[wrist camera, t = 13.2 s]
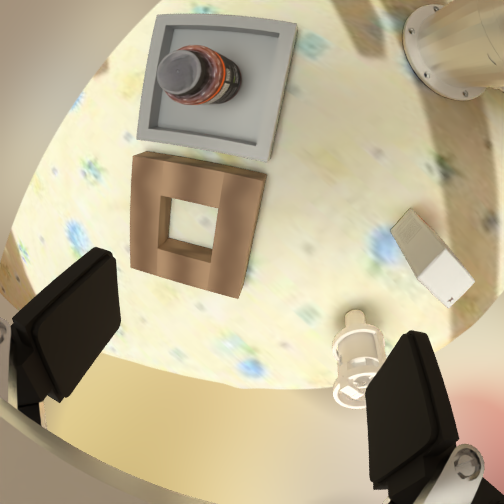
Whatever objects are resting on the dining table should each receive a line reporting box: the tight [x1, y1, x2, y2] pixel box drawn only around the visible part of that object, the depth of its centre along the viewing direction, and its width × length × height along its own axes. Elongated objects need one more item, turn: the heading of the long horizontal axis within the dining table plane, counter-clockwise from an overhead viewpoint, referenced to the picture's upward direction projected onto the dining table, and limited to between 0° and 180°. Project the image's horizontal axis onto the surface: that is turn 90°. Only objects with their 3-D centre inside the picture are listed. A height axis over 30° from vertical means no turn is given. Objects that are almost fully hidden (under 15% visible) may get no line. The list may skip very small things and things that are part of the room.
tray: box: [137, 14, 298, 162], centre depth 29 cm, size 16×16×3 cm
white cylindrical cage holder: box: [332, 310, 386, 409], centre depth 35 cm, size 7×7×15 cm
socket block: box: [130, 151, 267, 299], centre depth 38 cm, size 16×16×4 cm
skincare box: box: [390, 208, 475, 308], centre depth 29 cm, size 6×4×12 cm
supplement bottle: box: [157, 45, 241, 105], centre depth 25 cm, size 6×6×11 cm
